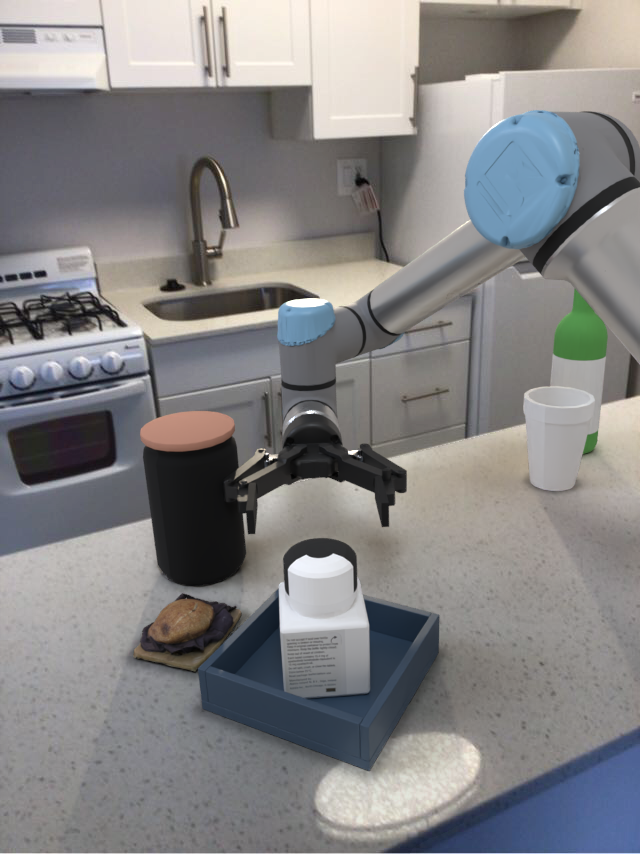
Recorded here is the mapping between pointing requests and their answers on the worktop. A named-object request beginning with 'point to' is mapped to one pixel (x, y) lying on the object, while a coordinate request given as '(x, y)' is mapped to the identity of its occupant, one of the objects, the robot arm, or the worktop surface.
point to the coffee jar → (193, 496)
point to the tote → (327, 716)
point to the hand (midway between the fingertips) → (318, 519)
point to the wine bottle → (581, 357)
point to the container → (323, 621)
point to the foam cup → (556, 434)
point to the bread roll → (187, 632)
